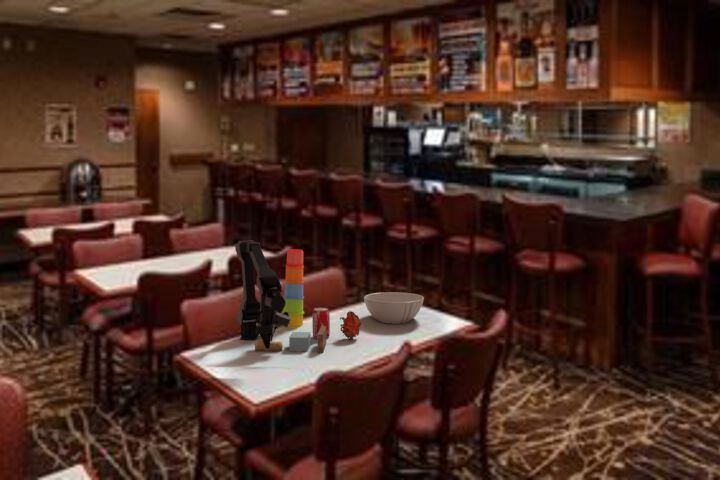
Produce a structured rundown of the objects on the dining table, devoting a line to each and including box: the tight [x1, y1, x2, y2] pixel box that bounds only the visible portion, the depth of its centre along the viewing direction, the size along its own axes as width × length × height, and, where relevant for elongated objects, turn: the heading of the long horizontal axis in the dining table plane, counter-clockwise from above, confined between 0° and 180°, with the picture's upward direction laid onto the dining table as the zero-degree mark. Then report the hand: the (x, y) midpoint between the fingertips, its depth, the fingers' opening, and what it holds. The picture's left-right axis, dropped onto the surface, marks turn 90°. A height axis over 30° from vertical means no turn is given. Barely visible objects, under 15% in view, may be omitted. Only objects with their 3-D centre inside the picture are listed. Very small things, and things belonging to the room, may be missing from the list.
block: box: [288, 331, 311, 352], centre depth 261 cm, size 7×9×5 cm
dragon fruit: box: [339, 309, 362, 340], centre depth 275 cm, size 8×8×12 cm
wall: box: [317, 326, 327, 354], centre depth 261 cm, size 2×14×7 cm, turn 178°
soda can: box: [311, 307, 331, 340], centre depth 278 cm, size 7×7×12 cm
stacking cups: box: [281, 248, 305, 329], centre depth 293 cm, size 10×10×35 cm
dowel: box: [254, 340, 284, 352], centre depth 258 cm, size 10×4×4 cm, turn 88°
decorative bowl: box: [363, 291, 425, 325], centre depth 304 cm, size 27×27×12 cm
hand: (268, 347), depth 258 cm, fingers closed on dowel, 4 cm apart
